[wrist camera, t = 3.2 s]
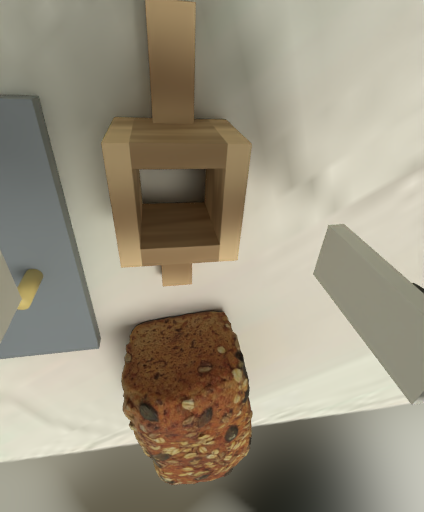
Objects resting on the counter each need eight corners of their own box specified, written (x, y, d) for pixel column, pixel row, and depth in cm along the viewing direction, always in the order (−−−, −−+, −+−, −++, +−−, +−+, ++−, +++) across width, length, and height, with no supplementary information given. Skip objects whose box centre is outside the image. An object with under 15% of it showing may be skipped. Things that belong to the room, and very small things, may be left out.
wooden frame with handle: (98, -3, 15) (73, -27, 10) (233, 9, 16) (270, -7, 11) (134, 276, 25) (131, 330, 20) (215, 270, 26) (229, 320, 21)
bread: (124, 320, 28) (114, 429, 20) (232, 301, 29) (264, 398, 21) (158, 414, 39) (160, 508, 31) (235, 398, 40) (257, 485, 32)
